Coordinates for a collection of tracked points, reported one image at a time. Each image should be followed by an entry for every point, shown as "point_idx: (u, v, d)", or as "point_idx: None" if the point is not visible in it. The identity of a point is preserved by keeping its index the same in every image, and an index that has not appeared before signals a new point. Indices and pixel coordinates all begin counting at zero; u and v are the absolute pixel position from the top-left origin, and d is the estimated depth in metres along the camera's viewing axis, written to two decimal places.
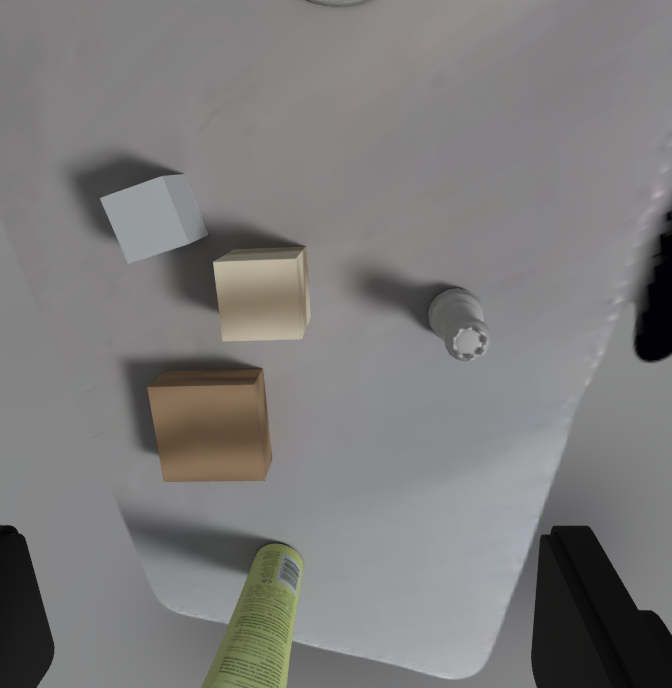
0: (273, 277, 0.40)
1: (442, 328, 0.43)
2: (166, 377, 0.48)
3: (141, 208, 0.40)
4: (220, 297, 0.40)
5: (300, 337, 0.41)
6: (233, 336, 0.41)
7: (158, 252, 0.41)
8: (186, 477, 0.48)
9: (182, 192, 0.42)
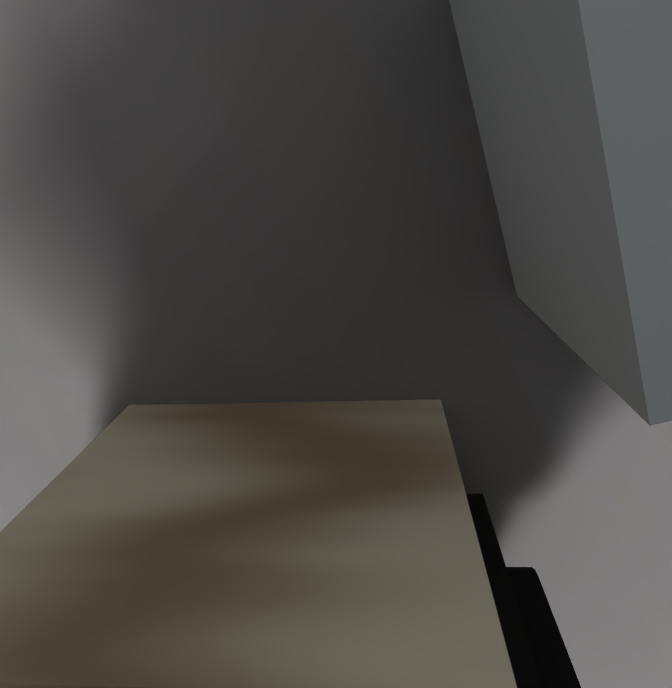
0: None
1: None
2: None
3: None
4: None
5: None
6: None
7: (617, 142, 0.04)
8: None
9: None
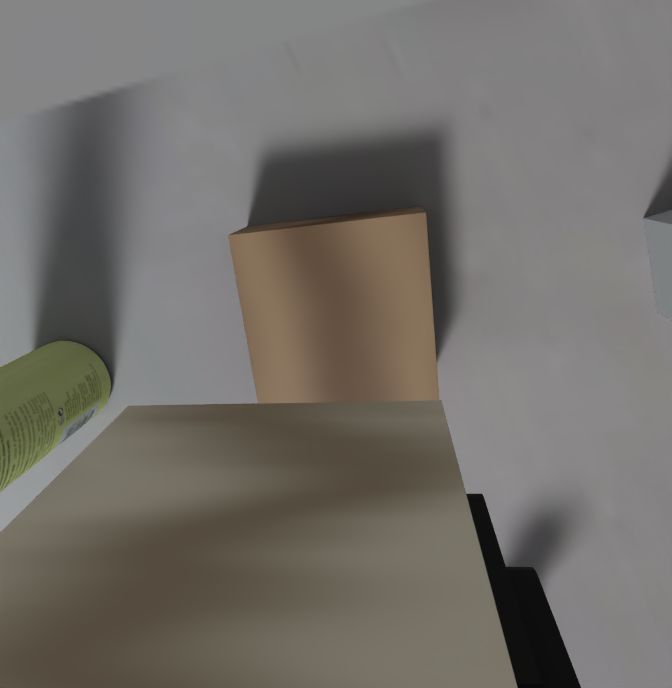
0: None
1: None
2: None
3: None
4: None
5: None
6: None
7: None
8: (244, 279, 0.26)
9: None
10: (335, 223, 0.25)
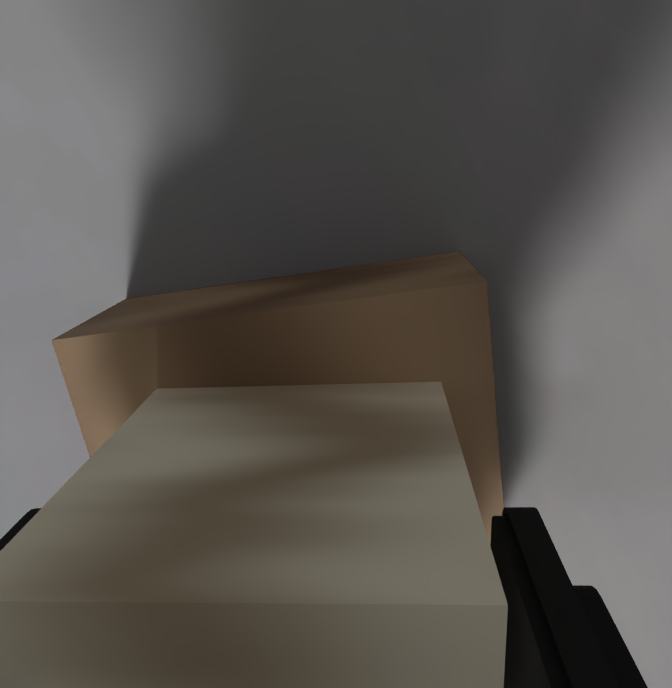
0: None
1: None
2: None
3: None
4: (255, 620, 0.06)
5: None
6: (2, 661, 0.06)
7: None
8: (97, 427, 0.12)
9: None
10: (282, 310, 0.11)
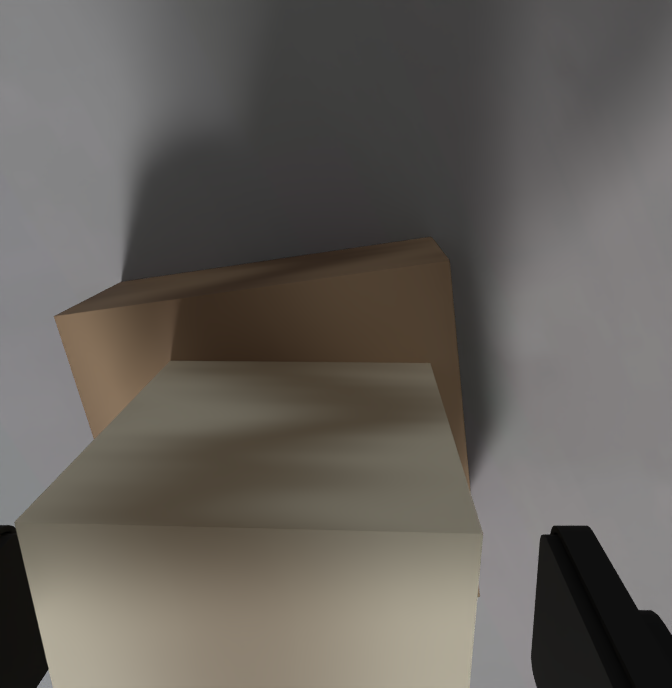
0: None
1: None
2: None
3: None
4: (273, 543, 0.07)
5: None
6: (53, 576, 0.07)
7: None
8: (96, 397, 0.13)
9: None
10: (265, 287, 0.12)
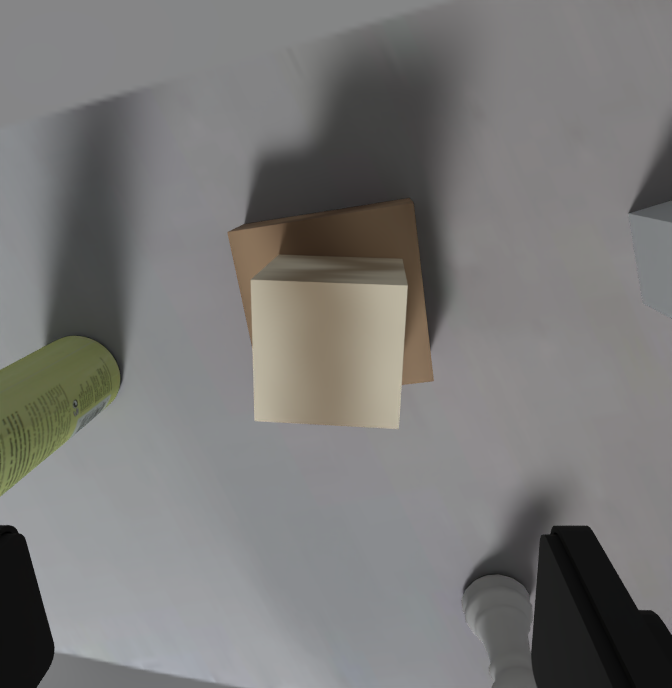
0: (369, 388, 0.22)
1: (502, 620, 0.33)
2: None
3: None
4: (337, 288, 0.21)
5: (257, 419, 0.23)
6: (260, 302, 0.21)
7: None
8: (244, 273, 0.27)
9: None
10: (328, 216, 0.26)
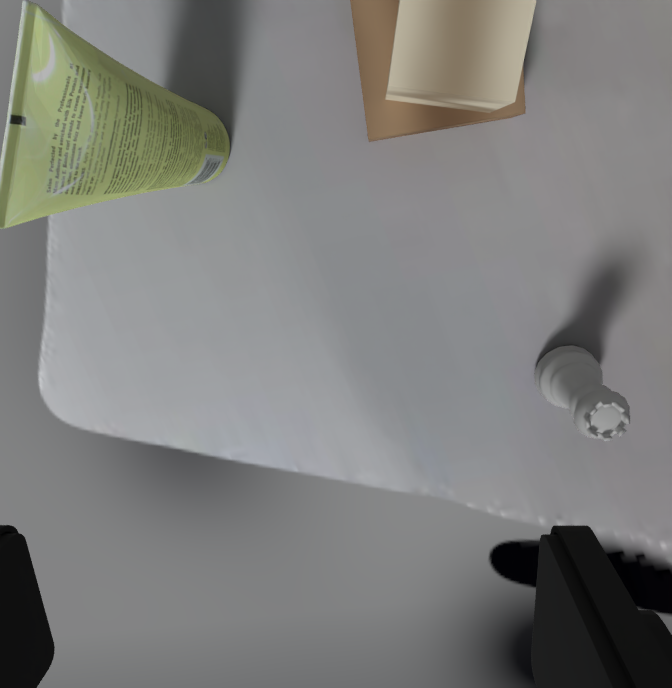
0: (495, 58, 0.25)
1: (578, 371, 0.36)
2: None
3: None
4: None
5: (390, 84, 0.26)
6: None
7: None
8: (358, 6, 0.30)
9: None
10: None
